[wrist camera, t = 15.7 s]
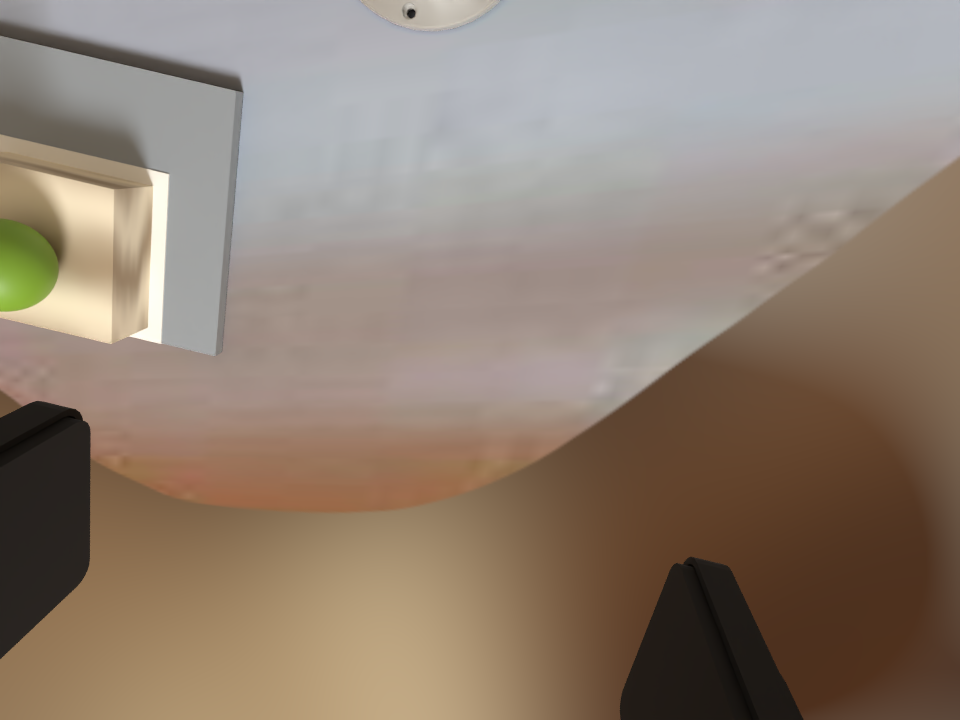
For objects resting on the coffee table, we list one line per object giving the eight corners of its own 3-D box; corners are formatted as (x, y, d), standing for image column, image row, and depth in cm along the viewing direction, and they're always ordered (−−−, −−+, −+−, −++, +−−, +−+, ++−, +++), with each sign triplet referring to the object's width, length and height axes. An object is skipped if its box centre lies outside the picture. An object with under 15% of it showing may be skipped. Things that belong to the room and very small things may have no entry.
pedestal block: (7, 151, 41) (-47, 151, 37) (153, 186, 41) (114, 189, 37) (12, 295, 44) (-37, 308, 40) (147, 327, 44) (111, 343, 40)
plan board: (-28, 28, 39) (-44, 25, 38) (243, 92, 39) (235, 90, 38) (-14, 295, 45) (-27, 299, 44) (221, 351, 45) (214, 356, 44)
